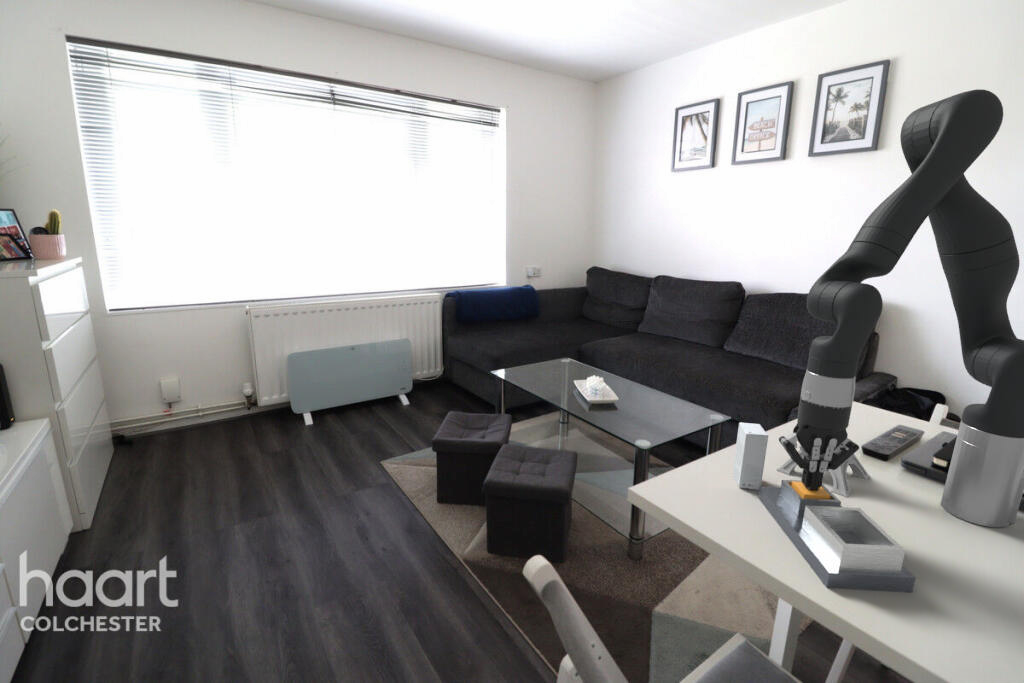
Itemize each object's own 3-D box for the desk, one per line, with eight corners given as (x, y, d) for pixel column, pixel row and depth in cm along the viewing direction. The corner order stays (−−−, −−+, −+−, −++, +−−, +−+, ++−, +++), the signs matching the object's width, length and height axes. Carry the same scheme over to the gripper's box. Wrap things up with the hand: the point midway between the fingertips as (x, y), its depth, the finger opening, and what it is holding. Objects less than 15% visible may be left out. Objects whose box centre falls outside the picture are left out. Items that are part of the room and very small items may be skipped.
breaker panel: (821, 500, 94) (827, 470, 92) (912, 592, 70) (921, 553, 69) (758, 497, 94) (762, 467, 93) (826, 587, 71) (833, 549, 70)
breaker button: (814, 496, 89) (816, 482, 89) (827, 510, 85) (830, 495, 84) (789, 495, 90) (792, 481, 89) (801, 509, 86) (804, 494, 85)
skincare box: (761, 490, 97) (769, 435, 94) (738, 488, 98) (745, 433, 95) (752, 475, 103) (760, 423, 100) (731, 473, 104) (738, 421, 101)
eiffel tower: (802, 453, 113) (823, 328, 106) (870, 477, 103) (898, 340, 96) (776, 471, 105) (796, 337, 98) (846, 498, 95) (874, 350, 88)
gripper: (853, 391, 86) (836, 479, 90) (776, 389, 87) (763, 476, 91) (881, 407, 79) (861, 501, 83) (797, 404, 79) (782, 498, 84)
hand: (810, 488), depth 87 cm, fingers closed
